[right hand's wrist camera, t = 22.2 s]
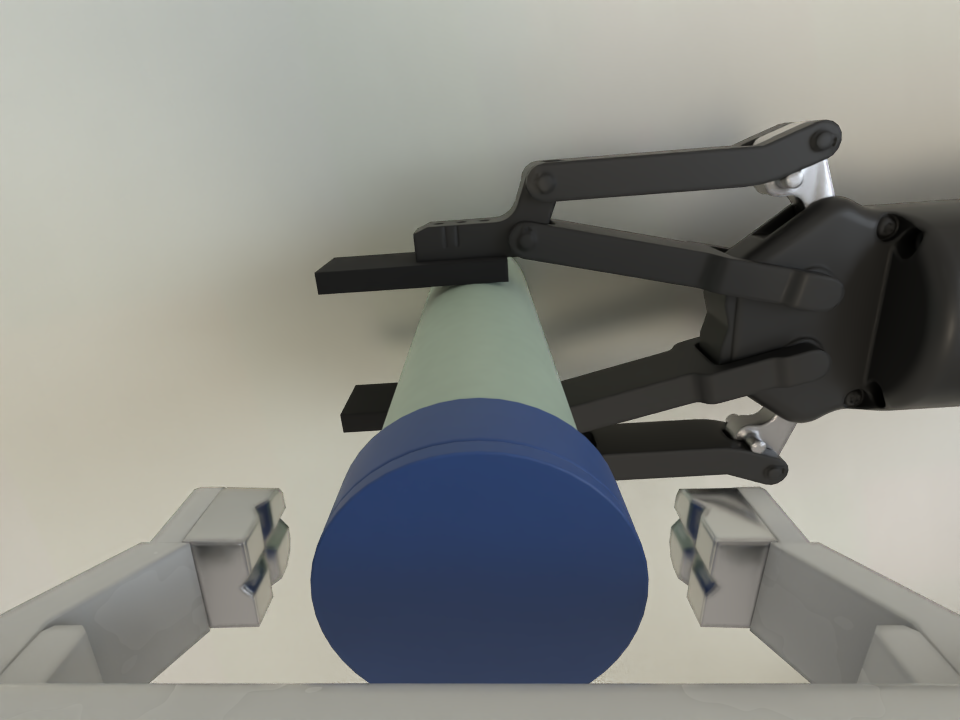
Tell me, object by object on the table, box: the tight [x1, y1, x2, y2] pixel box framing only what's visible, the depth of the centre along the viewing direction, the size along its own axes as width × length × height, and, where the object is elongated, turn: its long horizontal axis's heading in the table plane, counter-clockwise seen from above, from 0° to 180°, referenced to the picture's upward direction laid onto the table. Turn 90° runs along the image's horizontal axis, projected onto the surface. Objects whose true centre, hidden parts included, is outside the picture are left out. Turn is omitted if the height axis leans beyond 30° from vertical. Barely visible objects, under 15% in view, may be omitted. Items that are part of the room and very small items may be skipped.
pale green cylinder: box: [382, 257, 577, 430], centre depth 18 cm, size 5×5×19 cm
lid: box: [311, 398, 649, 684], centre depth 9 cm, size 5×5×2 cm
